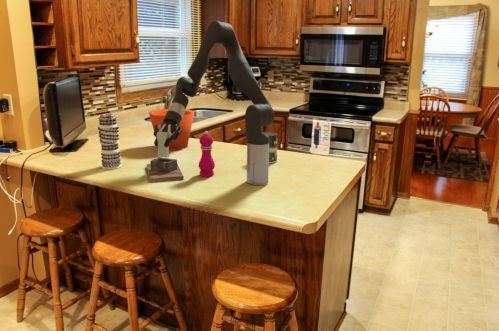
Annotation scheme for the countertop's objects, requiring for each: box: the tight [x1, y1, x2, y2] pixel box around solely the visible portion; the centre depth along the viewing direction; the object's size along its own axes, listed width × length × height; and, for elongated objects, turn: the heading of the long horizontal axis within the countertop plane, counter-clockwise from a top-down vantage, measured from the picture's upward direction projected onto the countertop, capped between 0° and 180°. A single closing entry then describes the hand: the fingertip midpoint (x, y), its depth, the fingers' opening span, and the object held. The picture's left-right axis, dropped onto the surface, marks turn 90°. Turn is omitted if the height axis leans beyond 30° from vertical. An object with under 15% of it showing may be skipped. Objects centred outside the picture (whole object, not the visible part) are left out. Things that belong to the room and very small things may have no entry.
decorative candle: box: [97, 113, 122, 170], centre depth 196 cm, size 9×9×25 cm
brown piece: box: [146, 157, 185, 183], centre depth 190 cm, size 14×24×6 cm, turn 17°
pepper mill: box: [198, 130, 216, 178], centre depth 186 cm, size 7×7×20 cm
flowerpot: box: [148, 108, 195, 151], centre depth 237 cm, size 25×25×20 cm
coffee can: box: [261, 131, 279, 165], centre depth 211 cm, size 10×10×14 cm
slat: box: [157, 132, 170, 158], centre depth 187 cm, size 4×2×11 cm, turn 67°
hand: (160, 145), depth 186 cm, fingers closed on slat, 4 cm apart
